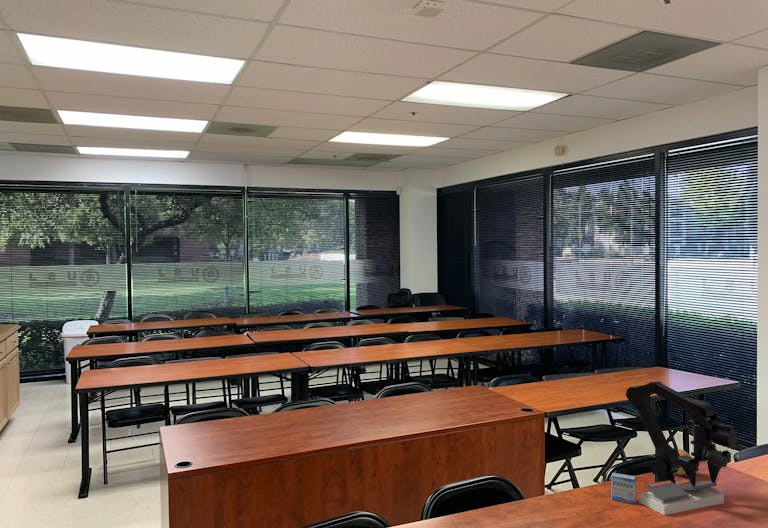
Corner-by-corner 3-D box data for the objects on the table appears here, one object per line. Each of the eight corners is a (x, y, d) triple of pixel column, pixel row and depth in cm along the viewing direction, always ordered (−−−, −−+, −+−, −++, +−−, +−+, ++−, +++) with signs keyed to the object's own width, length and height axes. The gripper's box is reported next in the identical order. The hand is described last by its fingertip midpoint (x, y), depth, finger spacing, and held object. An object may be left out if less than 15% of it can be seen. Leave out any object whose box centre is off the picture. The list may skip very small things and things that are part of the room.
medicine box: (611, 500, 197) (610, 475, 197) (612, 495, 201) (612, 471, 201) (635, 504, 193) (635, 479, 194) (636, 499, 197) (636, 475, 198)
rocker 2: (675, 489, 199) (674, 484, 199) (698, 485, 202) (697, 480, 203) (693, 491, 191) (692, 486, 192) (717, 487, 195) (715, 481, 195)
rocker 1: (645, 488, 194) (646, 484, 194) (669, 484, 198) (670, 479, 198) (663, 502, 187) (664, 498, 187) (687, 498, 191) (688, 493, 190)
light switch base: (639, 502, 195) (639, 490, 195) (696, 491, 204) (696, 480, 204) (664, 515, 185) (664, 503, 185) (724, 503, 194) (723, 491, 194)
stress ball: (695, 477, 221) (683, 455, 228) (699, 464, 214) (687, 441, 222) (670, 481, 221) (659, 458, 229) (673, 468, 215) (662, 445, 223)
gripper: (702, 449, 183) (703, 496, 183) (743, 443, 190) (744, 488, 189) (675, 439, 194) (675, 484, 194) (714, 434, 200) (715, 477, 200)
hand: (703, 484), depth 194 cm, fingers open, 9 cm apart
